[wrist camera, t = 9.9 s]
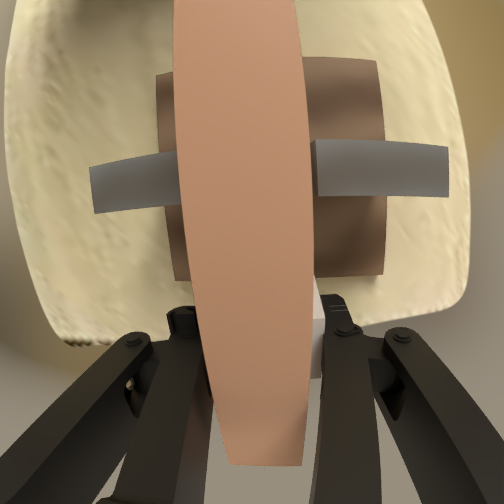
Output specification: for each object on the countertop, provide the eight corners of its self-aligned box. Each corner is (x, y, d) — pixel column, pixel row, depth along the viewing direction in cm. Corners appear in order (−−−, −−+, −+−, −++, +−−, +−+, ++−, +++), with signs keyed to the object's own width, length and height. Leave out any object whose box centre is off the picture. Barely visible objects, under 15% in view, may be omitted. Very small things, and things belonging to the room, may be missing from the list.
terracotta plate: (239, 39, 14) (182, -92, 3) (279, 36, 14) (269, -104, 3) (258, 309, 19) (229, 464, 8) (295, 308, 19) (301, 465, 8)
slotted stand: (162, 79, 23) (78, 32, 10) (371, 65, 21) (434, 2, 8) (180, 275, 29) (116, 351, 16) (378, 268, 27) (438, 346, 14)
